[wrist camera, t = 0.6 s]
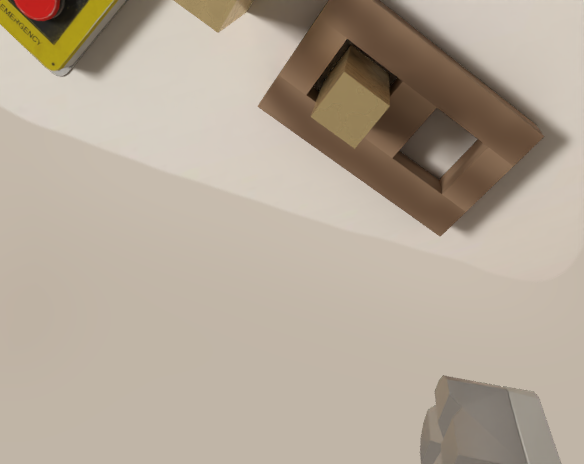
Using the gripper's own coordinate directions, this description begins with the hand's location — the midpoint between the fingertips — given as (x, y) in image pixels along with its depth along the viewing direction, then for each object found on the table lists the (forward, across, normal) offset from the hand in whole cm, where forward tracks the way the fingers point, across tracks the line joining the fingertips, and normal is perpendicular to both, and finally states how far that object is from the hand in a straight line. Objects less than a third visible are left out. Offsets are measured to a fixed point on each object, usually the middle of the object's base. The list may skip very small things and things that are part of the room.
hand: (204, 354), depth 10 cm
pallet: (+40, -6, +7) cm, 41 cm away
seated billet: (+40, -2, +5) cm, 40 cm away
